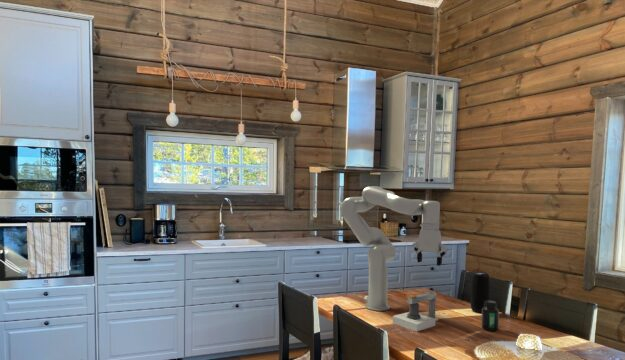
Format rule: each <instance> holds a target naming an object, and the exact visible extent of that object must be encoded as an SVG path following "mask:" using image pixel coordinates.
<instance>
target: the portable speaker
mask: <svg viewBox="0 0 625 360" xmlns="http://www.w3.org/2000/svg"><path fill="white" fill-rule="evenodd" d="M490 288H491V287H490V277H489V273H487V271H482V270H479V271H474V270H473V271H472V272H471V279H470V294H469V296H470V297H469V299H470V308H471V311H472V312H474V313H476V314H480V313H482V308H483V307H484V306H485V305H484V304H485V300H490V294H491V293H490Z"/></svg>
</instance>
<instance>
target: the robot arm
mask: <svg viewBox="0 0 625 360" xmlns="http://www.w3.org/2000/svg"><path fill="white" fill-rule="evenodd" d="M376 206H380V207H383V208H387V209H389V210H391V211H393V212H396V213H399V214H403V215H406V216H421V215H422V223H420V224H419V227H421V229H420V230H419V235H418V240H417V241H415V242H413V243H412V247H413V249H414V251H415V252H416V260H417V263H422V262H423V253H422V252H426V253H427V252H428V253H436V266H438V267H439V266H442V263H443V257H444V256H445V255H446V254H447V252H448V250H449V248H448V247H447V246H445V245H444V244H443V243H442V235H441V233H442V232H441V230H440V213H441V210H440V209H441V204H440V201H438V200H423V199H417V198H416V199H414V198H413V199H412V198H411V199H410V198H405V197H401V196H399V195H396V193H395V192H394V191H391V190H387V189H384V188H383V187H381V186H378V185H377V186H376V185H373V186H371V185H370V186H369V185H368V186H366V187H365V188H364V189H363V190H362V192H361V196H350V197H349V196H348V197H346V198H345V199H344V200H343V201H342V203H341V206H340V207H341V208H340V213H341V217H342V218H343V220H344V222H345V223H346V224H347V225H348V227H349V228H350V230H351V231H352V232H353V234H354V236H355V237H356V238H357V240H358V241H359V243H360V244H361V245H362V246H363V247H370V248H369V249H368V252H367V264H368V293H367V294H368V295H367V294H366V295H365V296H364V297H363V300H364V301H366V302H365V303H364V307H365V308H366V309H368V310H371V311H378V312H380V311H381V312H384V311H389V310H390V309H391V305H390V304H388V284H389V283H388V282H389V281H388V277H389V276H388V274H389V271H388V267H387V263H389V262H391V261H394V259H395V258H396V255H397V252H396V249H395V246H394V245H393V243H392V242H391V241H390V239H389V238H388V236H387V235H386V234H385V232H384V231H383V230H381V229H380V228H379V227H377V226H376V227H375V226H372V227H370V226H369V225H368V223H367V222H366V220H365V219H364V218H363V217H362V216H361V215H360V214H359V213H365V212H368V211H369V210H371V209H373V208H374V207H376ZM442 250H443V251H442Z"/></svg>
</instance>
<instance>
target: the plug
mask: <svg viewBox="0 0 625 360" xmlns="http://www.w3.org/2000/svg"><path fill="white" fill-rule="evenodd" d="M408 312H409V313H408V314H407V317H408V318H410V319H413V320H417V319H420V317H421V315H419V314H420V313H419V312H420V304H419V303H416V304H409V311H408Z"/></svg>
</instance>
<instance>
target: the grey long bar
mask: <svg viewBox="0 0 625 360" xmlns="http://www.w3.org/2000/svg"><path fill="white" fill-rule="evenodd" d="M405 298H407V304H409V305H410V304H416V303H418V304H419V303H424V302H427V301H428V302H429V300H432V299H437V292H435V291H428V292H425V293H421V294H417V295H415V294H407V295H405Z"/></svg>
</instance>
